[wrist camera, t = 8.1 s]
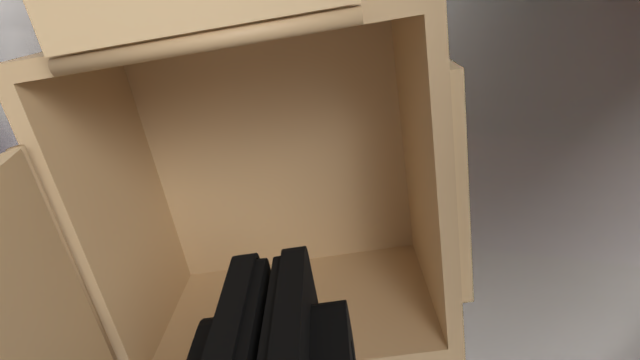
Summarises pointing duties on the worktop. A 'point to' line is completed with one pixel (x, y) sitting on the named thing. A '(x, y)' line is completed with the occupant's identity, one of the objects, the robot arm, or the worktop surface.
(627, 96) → the worktop surface
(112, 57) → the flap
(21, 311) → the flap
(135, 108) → the carton
